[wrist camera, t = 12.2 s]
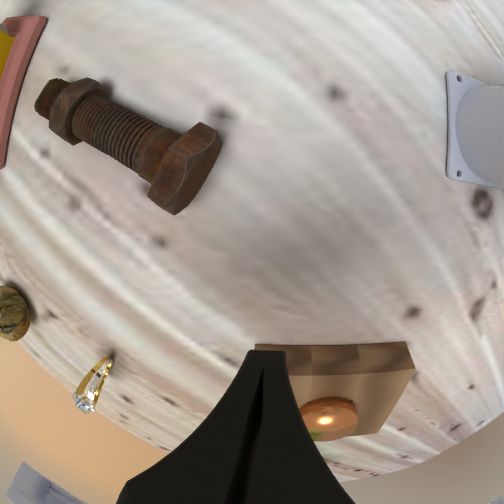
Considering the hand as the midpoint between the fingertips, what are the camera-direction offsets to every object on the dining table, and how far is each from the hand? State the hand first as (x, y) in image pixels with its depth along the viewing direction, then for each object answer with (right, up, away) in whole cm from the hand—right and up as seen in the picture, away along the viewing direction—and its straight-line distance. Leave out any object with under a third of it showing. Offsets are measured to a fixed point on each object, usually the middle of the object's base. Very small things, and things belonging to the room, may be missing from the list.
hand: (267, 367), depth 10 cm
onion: (-33, -2, +17) cm, 38 cm away
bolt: (-10, +14, +7) cm, 18 cm away
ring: (-18, -9, +18) cm, 27 cm away
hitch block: (+7, -9, +15) cm, 19 cm away
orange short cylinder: (+7, -9, +15) cm, 19 cm away
